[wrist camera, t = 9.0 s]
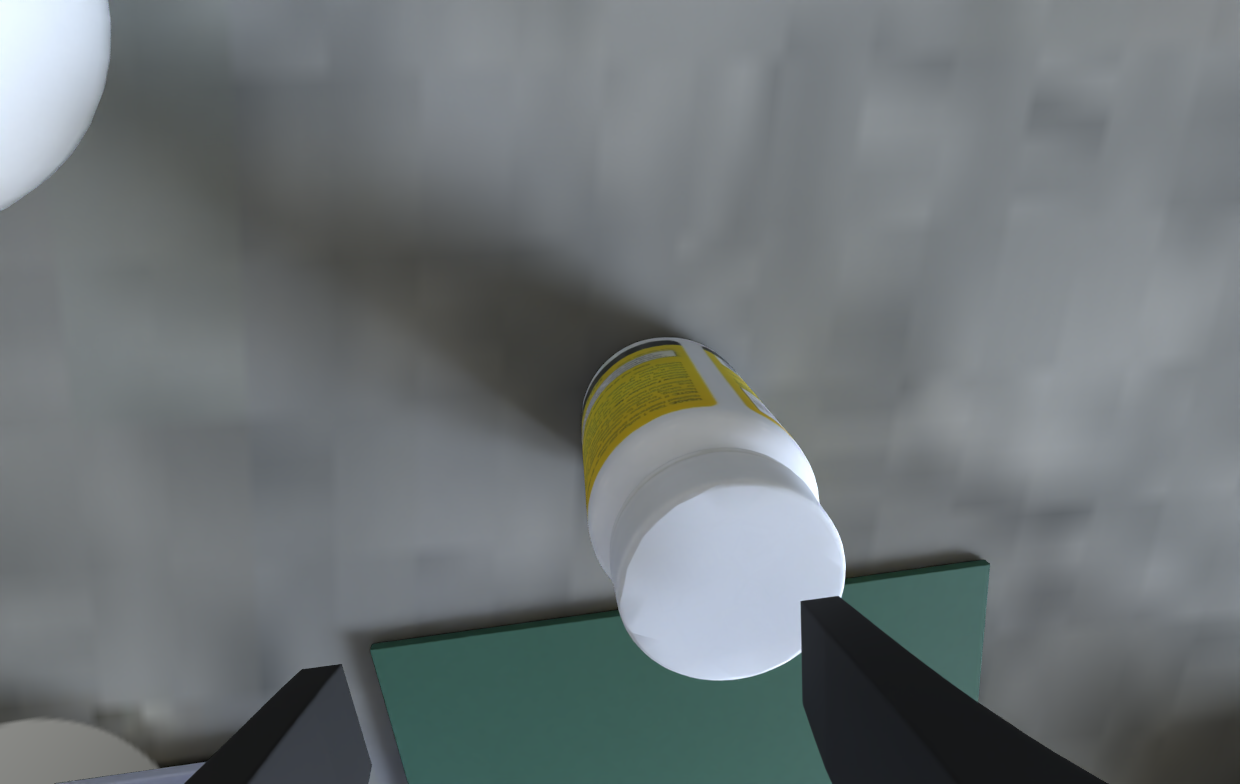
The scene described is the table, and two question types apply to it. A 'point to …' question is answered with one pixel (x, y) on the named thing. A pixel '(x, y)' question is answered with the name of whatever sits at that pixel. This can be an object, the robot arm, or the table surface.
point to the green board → (644, 695)
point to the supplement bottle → (702, 512)
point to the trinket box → (47, 85)
